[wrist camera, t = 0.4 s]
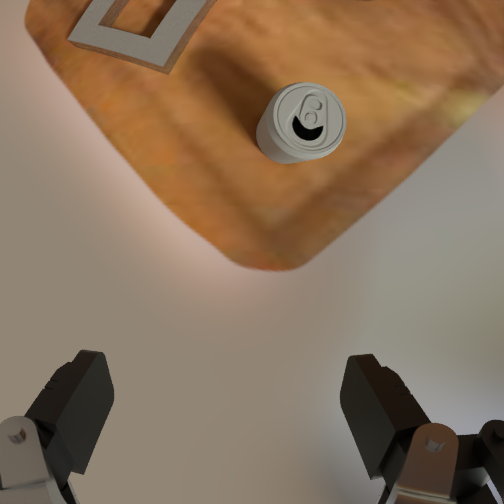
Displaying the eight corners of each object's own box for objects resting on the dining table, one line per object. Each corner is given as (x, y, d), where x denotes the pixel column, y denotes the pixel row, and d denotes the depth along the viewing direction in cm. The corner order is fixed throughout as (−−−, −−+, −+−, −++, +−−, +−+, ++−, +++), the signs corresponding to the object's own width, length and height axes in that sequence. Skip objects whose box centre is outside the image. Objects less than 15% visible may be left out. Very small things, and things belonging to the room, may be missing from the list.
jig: (142, -42, 25) (137, -54, 22) (233, -21, 27) (233, -34, 24) (77, 47, 28) (67, 39, 25) (168, 75, 30) (162, 66, 27)
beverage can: (247, 153, 33) (256, 142, 21) (265, 100, 32) (283, 65, 20) (302, 171, 34) (337, 171, 22) (319, 119, 32) (360, 96, 21)
